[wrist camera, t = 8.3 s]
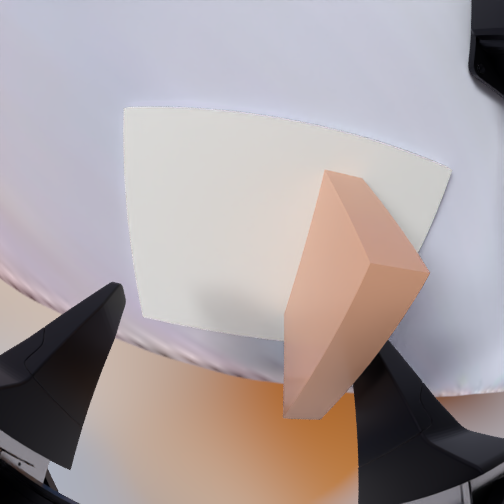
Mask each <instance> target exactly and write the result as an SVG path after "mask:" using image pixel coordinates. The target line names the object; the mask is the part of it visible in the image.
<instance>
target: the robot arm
mask: <svg viewBox="0 0 504 504" xmlns="http://www.w3.org/2000/svg"><path fill="white" fill-rule="evenodd" d="M468 64H469V70H470V72H471V74H472V75H473V76H474V77H475V78H477V79H478V80H480V81H481V82H483V83H484V84H485V85H487V86H488V87H489V88H491V89H492V90H494V91H495V92H496V93H497V94H499V95H500V96H501V97H503V98H504V0H472V19H471V43H470V54H469V63H468ZM477 65H479V68H480V71H478V68H477ZM125 303H126V299H125V295H124V290H123V286H122V285H121V284H120V283H115V282H111V283H109V284H108V285H106V286H104V287H103V288H101V289H100V290H98V291H97V292H95V293H94V294H92V295H91V296H89V297H88V298H86V299H85V300H83V301H82V302H80V303H79V304H77V305H76V306H74V307H73V308H71V309H70V310H68V311H67V312H65V313H64V314H62V315H61V316H59V317H58V318H56V319H55V320H54V321H52V322H51V323H49V324H48V325H46V326H45V328H42V329H41V330H39V331H38V332H37V333H35V334H33V335H32V336H31V337H29V338H28V339H26V340H25V341H23V342H21V343H20V344H18V345H16V346H14V347H13V348H11V349H9V350H8V351H6V352H4V353H3V354H1V355H0V504H79V503H77V502H75V501H73V500H71V499H69V498H68V497H66V496H64V495H62V494H60V493H59V492H58V489H57V488H56V485H55V483H54V481H53V479H52V477H51V475H50V473H49V470H48V465H49V461H52V462H54V463H56V464H58V465H60V466H62V467H64V468H67V469H69V470H70V469H71V466H72V462H73V459H74V455H75V451H76V447H77V444H78V441H79V437H80V434H81V430H82V426H83V423H84V420H85V417H86V414H87V411H88V408H89V405H90V402H91V399H92V396H93V393H94V391H95V388H96V385H97V382H98V380H99V377H100V374H101V372H102V369H103V367H104V364H105V361H106V359H107V356H108V354H109V351H110V349H111V346H112V344H113V342H114V339H115V336H116V333H117V330H118V326H119V323H120V320H121V317H122V313H123V310H124V307H125ZM353 388H354V397H355V409H356V422H357V439H358V465H359V468H358V470H359V471H358V473H359V496H358V497H359V499H358V504H504V438H498V437H494V436H490V435H485V434H481V433H477V432H473V431H470V430H467V429H465V428H464V427H462V426H461V425H460V424H459V423H458V422H457V421H456V420H455V418H454V417H453V416H452V415H451V414H450V413H449V412H448V411H447V410H446V409H445V408H444V407H443V406H442V405H441V404H440V402H439V401H438V400H437V399H436V398H435V397H434V395H433V394H432V393H431V392H430V390H429V389H428V388H427V387H426V385H425V384H424V383H422V381H421V379H420V378H419V377H418V376H417V374H416V373H415V372H414V371H413V369H412V368H411V367H410V366H409V364H408V363H407V362H406V361H405V360H404V358H403V357H402V356H401V355H400V353H399V352H398V351H397V350H396V349H395V347H394V346H393V345H392V344H391V343H390V342H389V340H387V341H386V343H385V344H384V345H383V347H382V348H381V350H380V351H379V352H378V353H377V355H376V356H375V357H374V359H373V360H372V361H371V363H370V364H369V365H368V366H367V368H366V369H365V370H364V371H363V373H362V374H361V375H360V376H359V377H358V379H357V380H356V381H355V382H354V383H353Z"/></svg>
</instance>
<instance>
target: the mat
mask: <svg viewBox="0 0 504 504" xmlns="http://www.w3.org/2000/svg"><path fill="white" fill-rule="evenodd" d="M123 142H124V176H125V193H126V206H127V217H128V226H129V235H130V243H131V251H132V258H133V265H134V271H135V277H136V283H137V289H138V294H139V299H140V304H141V309H142V314H143V317H145V318H149V319H154V320H158V321H163V322H167V323H172V324H177V325H182V326H187V327H192V328H197V329H203V330H208V331H214V332H220V333H226V334H232V335H239V336H246V337H253V338H260V339H267V340H276V341H284V312H285V309H286V306H287V303H288V300H289V297H290V293H291V290H292V287H293V284H294V280H295V277H296V274H297V270H298V267H299V263H300V260H301V257H302V253H303V250H304V246H305V243H306V239H307V235H308V232H309V228H310V224H311V221H312V217H313V213H314V210H315V206H316V202H317V198H318V194H319V190H320V186H321V182H322V178H323V174H324V170H329V171H334V172H338V173H343V174H347V175H351V176H355V177H359V178H362V179H363V180H364V181H365V182H366V183H367V185H368V186H369V187H370V188H371V190H372V191H373V192H374V193H375V195H376V196H377V197H378V198H379V200H380V201H381V202H382V204H383V205H384V206H385V208H386V209H387V210H388V211H389V213H390V214H391V216H392V217H393V218H394V220H395V221H396V222H397V224H398V225H399V227H400V228H401V229H402V231H403V232H404V234H405V235H406V237H407V238H408V240H409V241H410V242H411V244H412V245H413V247H414V248H415V250H416V252H417V253H418V252H419V250H420V248H421V246H422V244H423V242H424V240H425V237H426V235H427V233H428V231H429V228H430V226H431V224H432V222H433V219H434V217H435V215H436V212H437V210H438V207H439V205H440V202H441V200H442V197H443V194H444V192H445V189H446V186H447V183H448V181H449V178H450V175H451V172H452V170H451V169H450V168H448V167H447V166H445V165H442V164H440V163H438V162H435V161H433V160H430V159H428V158H425V157H422V156H420V155H417V154H415V153H412V152H409V151H406V150H403V149H401V148H398V147H395V146H392V145H389V144H386V143H383V142H379V141H376V140H373V139H369V138H366V137H363V136H359V135H356V134H352V133H348V132H344V131H340V130H336V129H332V128H328V127H324V126H320V125H315V124H310V123H306V122H301V121H296V120H290V119H285V118H279V117H273V116H267V115H260V114H253V113H245V112H237V111H228V110H217V109H205V108H189V107H127V108H124V128H123Z"/></svg>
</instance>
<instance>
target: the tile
mask: <svg viewBox="0 0 504 504" xmlns="http://www.w3.org/2000/svg"><path fill="white" fill-rule="evenodd" d="M429 274H430V272H429V270H428V269H427V267H426V266H425V264H424V262H423V261H422V259H421V258H420V256H419V255H418V253H417V252H416V250H415V248H414V247H413V245H412V244H411V242H410V241H409V240H408V238H407V237H406V235H405V234H404V232H403V231H402V229H401V228H400V227H399V225H398V224H397V222H396V221H395V220H394V218H393V217H392V216H391V214H390V213H389V211H388V210H387V209H386V208H385V206H384V205H383V204H382V202H381V201H380V200H379V198H378V197H377V196H376V195H375V193H374V192H373V191H372V190H371V188H370V187H369V186H368V185H367V183H366V182H365V181H364V180H363V179H362V178H359V177H355V176H351V175H347V174H343V173H338V172H334V171H329V170H324V174H323V178H322V182H321V186H320V190H319V194H318V198H317V202H316V206H315V210H314V213H313V217H312V221H311V224H310V228H309V232H308V235H307V239H306V243H305V246H304V250H303V253H302V257H301V260H300V263H299V267H298V270H297V274H296V277H295V280H294V284H293V287H292V290H291V293H290V297H289V300H288V303H287V306H286V309H285V312H284V401H283V418H291V419H321V418H322V417H323V416H324V415H325V414H326V413H327V412H328V411H329V410H330V409H331V408H332V407H333V406H334V405H335V403H336V402H337V401H338V400H339V399H340V398H341V397H342V396H343V395H344V394H345V392H346V391H347V390H348V389H349V388H350V387H351V386H352V384H353V383H354V382H355V381H356V380H357V379H358V377H359V376H360V375H361V374H362V373H363V371H364V370H365V369H366V368H367V366H368V365H369V364H370V363H371V361H372V360H373V359H374V357H375V356H376V355H377V353H378V352H379V351H380V350H381V348H382V347H383V345H384V344H385V343H386V341H387V340H388V339H389V337H390V336H391V334H392V333H393V332H394V330H395V329H396V327H397V326H398V324H399V323H400V321H401V320H402V318H403V317H404V315H405V314H406V312H407V311H408V309H409V308H410V306H411V304H412V303H413V301H414V300H415V298H416V296H417V295H418V293H419V291H420V290H421V288H422V286H423V285H424V283H425V281H426V279H427V278H428V276H429Z"/></svg>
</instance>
